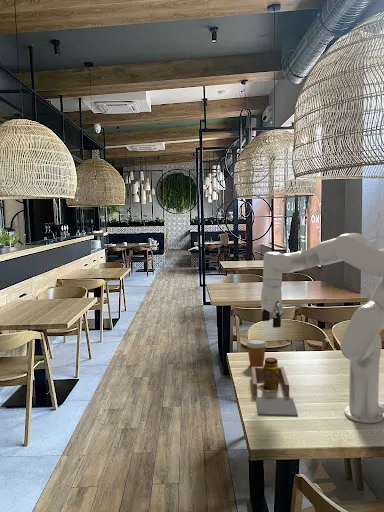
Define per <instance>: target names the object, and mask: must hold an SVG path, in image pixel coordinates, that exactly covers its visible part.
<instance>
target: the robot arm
mask: <svg viewBox="0 0 384 512" xmlns="http://www.w3.org/2000/svg"><path fill="white" fill-rule="evenodd" d="M343 261H344V262H345V263H347V264H349V265H351V266H352V267H354V268H356V269H358V270H360V271H362V272H363V273H366V274H367V275H370V276H372V277H379V278H380V280H379V281H378V283H377V284H376V287H375V288H374V291H373V293H372V295H371V296H370V298H369V300H368V302H366V303H365V304H364V305H361V306H359V307H358V308H356V310H355V311H354V313H353V315H352V316H351V319H350V320H349V323H348V325H347V327H346V329H345V331H344V333H343V335H342V337H341V340H340V345H339V348H340V351H341V354H342V355H343V356H344V357H345V359H346V360H348V361H349V380H348V381H349V386H348V387H349V389H348V391H349V392H348V393H349V396H348V399H349V400H348V405H347V406H346V407H344V415H345V416H346V417H347V418H348V419H350V420H352V421H355V422H357V423H361V424H377V423H380V422H382V421H383V420H384V404H380V402H379V397H380V396H379V392H380V391H379V387H380V386H379V385H380V384H379V383H380V376H379V375H380V359H381V352H382V351H381V350H382V338H381V335H380V333H381V331H382V330H384V248H379V249H377V248H375V247H373V246H371V245H370V244H368V241H367V238H366V237H365V236H364V235H362V234H360V233H356V232H351V233H350V232H349V233H343V234H341V235H338V236H337V237H335V238H332V239H328V240H325V241H321V242H318V243H317V244H316V245H315V246H313V247H309V248H307V249H304V250H298V251H295V252H287V253H281V252H280V251H266V252H265V253H264V254H263V261H262V263H263V264H262V265H263V266H262V268H263V269H262V288H261V294H260V307H261V321H263V322H269V321H270V316H271V315H270V314H271V313H272V314H273V317H272V328H274V329H275V328H277V329H278V328H281V327H282V316H283V312H284V308H283V306H282V305H283V303H282V301H283V300H282V286H283V274H290V273H294V272H298V271H299V272H300V271H303V270H308V269H310V268H314V267H315V268H316V267H318V266H328V265H331V264H334V263H339V262H343Z"/></svg>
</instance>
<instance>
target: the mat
mask: <svg viewBox="0 0 384 512" xmlns="http://www.w3.org/2000/svg"><path fill="white" fill-rule="evenodd" d="M255 401H256V408H257V409H256V410H257V411H256V412H257V415H258V416H267V417H268V416H271V417H272V416H273V417H274V416H276V417H280V416H281V417H299V414H298V411H297V408H296V403H295V400H294V399H293V397H273V396H271V397H270V396H255Z"/></svg>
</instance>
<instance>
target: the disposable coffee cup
mask: <svg viewBox="0 0 384 512" xmlns="http://www.w3.org/2000/svg"><path fill="white" fill-rule="evenodd" d="M267 345H268V344H267V342H266V340H264V339H262V338H249V339H247V341H246V346H247V351H248V352H247V353H248V361H249V366H250V368H251V367H264V365H265V354H266V353H265V352H266V346H267Z"/></svg>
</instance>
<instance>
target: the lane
mask: <svg viewBox="0 0 384 512" xmlns="http://www.w3.org/2000/svg"><path fill="white" fill-rule="evenodd" d="M250 368H251V370H250V371H251V386H252V396H253V397H258V388H257V386H258V380H264V366H263V367H251V366H250ZM278 368H279V370H278V374H279V375H278V379H279V380H280V382H281V387H283V388H282V390H283V393H284V398H290V382H289V380H288V377H287V373H286V370H285V367H284V366H281V367H280V366H278Z"/></svg>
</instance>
